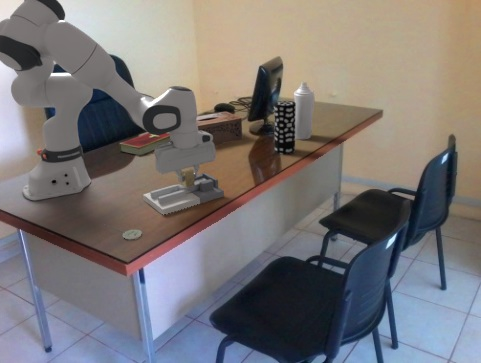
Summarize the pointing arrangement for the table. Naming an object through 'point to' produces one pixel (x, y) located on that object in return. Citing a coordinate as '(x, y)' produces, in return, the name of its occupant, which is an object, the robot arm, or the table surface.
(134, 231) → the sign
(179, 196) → the plate
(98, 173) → the table surface
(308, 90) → the spray can
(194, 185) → the bolt
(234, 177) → the table surface
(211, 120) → the tissue box cover
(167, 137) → the hardcover book
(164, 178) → the table surface
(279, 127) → the white-spotted black cylinder
